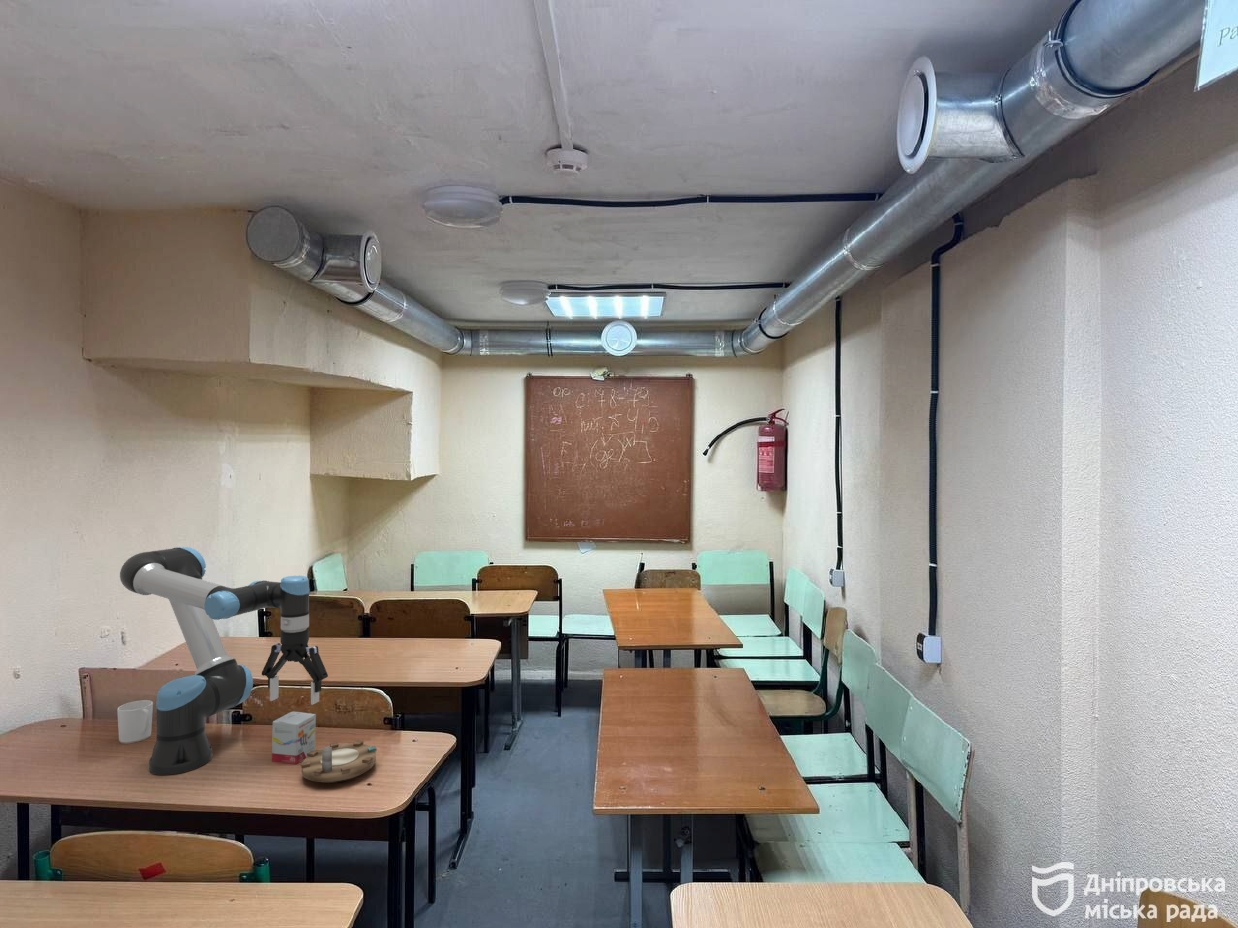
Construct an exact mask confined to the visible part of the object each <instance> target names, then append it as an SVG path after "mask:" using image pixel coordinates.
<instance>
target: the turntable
mask: <svg viewBox="0 0 1238 928" xmlns="http://www.w3.org/2000/svg"><path fill="white" fill-rule="evenodd" d="M376 752H377V746H376V745H373V746H370V745H367V744H364V740H359V739H358V740H356V741H354V742H352V743H341V744H339V742H338V741H334V742H330V743H329V746H325V747H323V748H320V749H319V750H315V751H313V750H312V751H310V752H308V753H307V756H308V757H306V758H305V759H304V760H302V761H301V762H300V767H301V775H302V776H303V777H304V778H305V779H306V780H309V781H312V782H317V783H324V782H335V781H341V780H346V779H350V778H352V779H354V778H356V777H358V776H361V775H362V774H364V773H366V772H368V771H369V770H370V769H372V768H373V766H375V763H376V761H377V753H376ZM353 777H354V778H353ZM350 780H351V779H350Z"/></svg>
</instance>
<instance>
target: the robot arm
mask: <svg viewBox="0 0 1238 928" xmlns="http://www.w3.org/2000/svg"><path fill="white" fill-rule="evenodd" d="M206 567H207V564H206V562H205V559H204V556H203V555H202V554H201V553H200V552H199V551H198V550H196V549H195V548H192V547H184V546H183V547H180V546H179V547H178V546H177V547H176V546H175V547H172V548H165V549H159V550H152V551H143V552H139V553H136V554H134V555H132V556H131V557H129V558H128V559H127V560H126V561H125V562H124V563H123V565H122V566H121V568H120V572H119V580H120V582H121V585H123V587H125V589H127V590H128V591H130V592H132V593H135V594H138V595H142V596H150V595H154V596H155V595H156V596H157V597H158V596H159V597H162V598H163V599H165V598H166V599H167V600H168V601H169V603H170V607H171V609H172V611H173V614H174V616H175V618H176V620H177V623H178V625H179V629H180V630H181V633H182V636H183V638H184V640H185V643H186V645H187V648H188V651H189V652H190V655H191V658H192V661H193V663H194V666H195V668H196V670H195V672H194V675H186V676H185V677H177V678H175V679H173V680H171V681H168V682H166V683H164V684H163V685H162V686H161V687H160V688H159V689H158V692H157V693H156V694H157V695H156V703H155V708H156V742H155V743H154V747H153V749H152V753H151V756H150V758H149V760H148V772H149V773H151V774H153V775H157V776H172V775H178V774H182V773H186V772H190V771H192V770H195V769H198V768H200V767H203V766H204V765H205V764H207V763H209V762H210V761H211V759H212V758H213V748H212V745H211V744H210V741H209V737H208V734H207V733H206V719H207V718H209V717H211V716H215V715H216V714H218V713H220V712H223V711H225V710H226V711H227V710H228V709H232V708H235V707H236V706H238V705H240V704H242V703H244V702H245V701H246V700H247V699H248V698H250V695H251V693H252V690H253V686H254V678H253V675H252V671H251V669H249V668H248V667H247V666H245V665H243V664H238V662H237V660H236V657H233V656H229V655H228V653H227V651H226V648H225V646H224V643H223V641H222V638H221V636H220V633H219V632H218V629H217V627H216V624H215V621H217V620H218V621H219V620H222V619H223V620H227V619H230V618H232V617H235V616H240V615H244V614H247V613H251V612H254V611H258V610H262V609H266V608H268V609H269V608H273V609H280V630H281V631H280V637H279V638H280V643H279V642H278V643H275V644H273V645H271V648H270V649H271V650H270V654H269V656H268V658H267V659H266V662H265V664H264V667H263V669H262V671H261V676H265V677H266V678H267V687H268V689H269V702H272V701H274V700H277V699H278V698H279V696H280V695H279V694H280V693H279V681H280V680H279V675H278V673H279V672H280V671H281V669H282V668H283V666H285V664H286V663H287V662H294V663H299V664H300V665H302V666H303V668H304V669H305V671H306V672H307V674H308V675H309V676H310V678H311V679H312V680H313V681H311V682H310V705H315V704H317V703H319V702H320V692H321V691H322V681H323V680H325V679H327V678H328V677H329V674H328V672H327V669H326V668H325V667H326V666H325V665H324V663H323V660H322V658H321V655H320V653H319V646H318V645H314V646H309V644H308V643H309V640H310V629H309V627H310V591H311V590H310V582H309V581H310V580H309V578H308V577H307V576H306V575H305V576H304V575H288V576H284V577H282V578H281V580H280V582H279V581H269V580H254V581H252V582H250V584H248V585H244V586H241V587H236V588H232V587H228V586H224V585H220V584H218V583H217V584H216V583H214V582H210V581H207V580H204V579H203V577H204V576H205V574H206V569H205V568H206ZM214 620H215V621H214ZM280 653H282V655H281V656H280V657H279V655H280ZM278 657H279V658H278ZM277 659H278V661H277ZM276 661H277V662H276ZM275 663H276V664H275Z"/></svg>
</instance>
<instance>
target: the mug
mask: <svg viewBox="0 0 1238 928" xmlns="http://www.w3.org/2000/svg"><path fill="white" fill-rule="evenodd" d="M153 707H154V701H152V700H149V699H148V700H147V699H143V700H136V701H135V700H134V701H130V702H126V703H124V704H122V705H120V706H118V707H117V708H116V709H117V711H116V712H117V726H118V728H117V730H118V742H119V743H120V744H122V745H123V744H125V745H126V744H127V745H128V744H135V743H139V742H142V741H146V740H147V739H149V738H150V737H151V736H152V725H153V709H154V708H153Z"/></svg>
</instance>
